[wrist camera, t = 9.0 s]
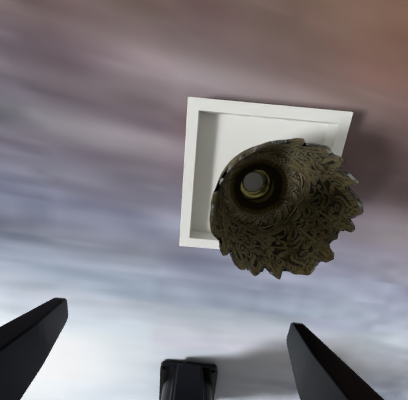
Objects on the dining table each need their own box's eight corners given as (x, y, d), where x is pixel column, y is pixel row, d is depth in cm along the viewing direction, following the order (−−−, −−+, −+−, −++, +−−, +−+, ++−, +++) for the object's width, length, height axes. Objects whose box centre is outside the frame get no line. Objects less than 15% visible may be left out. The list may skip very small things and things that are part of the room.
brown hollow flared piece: (263, 236, 20) (298, 302, 12) (192, 196, 19) (183, 241, 11) (316, 166, 18) (397, 191, 10) (240, 117, 17) (268, 105, 9)
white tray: (306, 245, 21) (316, 257, 19) (181, 235, 20) (179, 245, 19) (339, 114, 17) (356, 112, 15) (190, 100, 17) (188, 96, 15)
